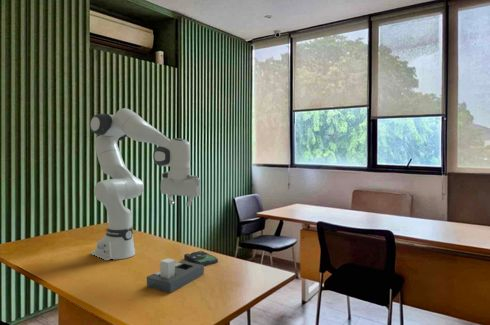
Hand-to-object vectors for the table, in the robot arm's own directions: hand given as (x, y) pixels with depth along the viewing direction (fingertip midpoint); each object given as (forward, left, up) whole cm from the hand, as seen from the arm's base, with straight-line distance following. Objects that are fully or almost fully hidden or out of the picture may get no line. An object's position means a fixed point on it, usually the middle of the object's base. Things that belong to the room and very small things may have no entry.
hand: (180, 205), depth 154 cm
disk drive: (+2, +14, -30) cm, 33 cm away
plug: (+7, -16, -29) cm, 34 cm away
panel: (+7, -11, -29) cm, 32 cm away
